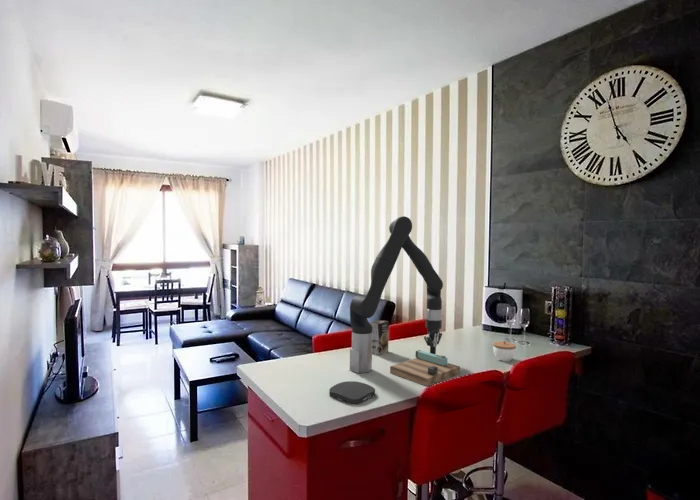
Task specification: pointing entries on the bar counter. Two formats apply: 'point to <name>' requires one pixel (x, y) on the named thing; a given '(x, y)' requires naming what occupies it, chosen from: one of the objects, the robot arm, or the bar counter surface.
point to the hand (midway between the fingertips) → (432, 354)
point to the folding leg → (431, 357)
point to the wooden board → (424, 371)
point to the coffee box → (380, 336)
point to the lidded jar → (504, 350)
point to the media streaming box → (352, 392)
